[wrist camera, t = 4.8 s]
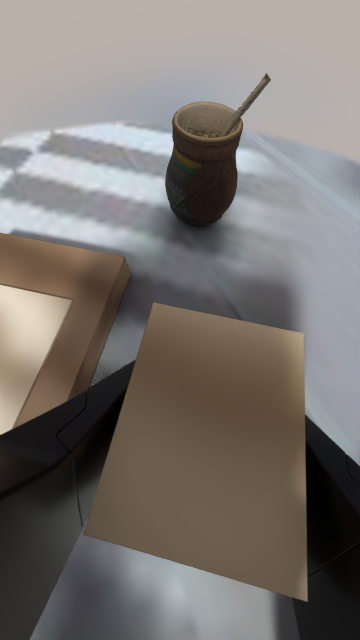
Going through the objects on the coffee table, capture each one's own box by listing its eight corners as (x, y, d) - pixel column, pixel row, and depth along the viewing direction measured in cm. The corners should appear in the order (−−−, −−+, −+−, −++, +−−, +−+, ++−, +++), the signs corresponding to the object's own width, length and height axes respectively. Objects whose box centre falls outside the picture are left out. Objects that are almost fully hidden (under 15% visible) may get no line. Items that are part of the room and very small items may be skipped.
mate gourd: (159, 196, 22) (146, 59, 13) (217, 185, 23) (243, 48, 14) (176, 241, 20) (175, 112, 11) (240, 226, 21) (291, 95, 11)
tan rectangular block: (215, 450, 13) (307, 601, 4) (148, 432, 14) (83, 534, 4) (226, 366, 15) (303, 333, 6) (168, 353, 16) (153, 302, 6)
